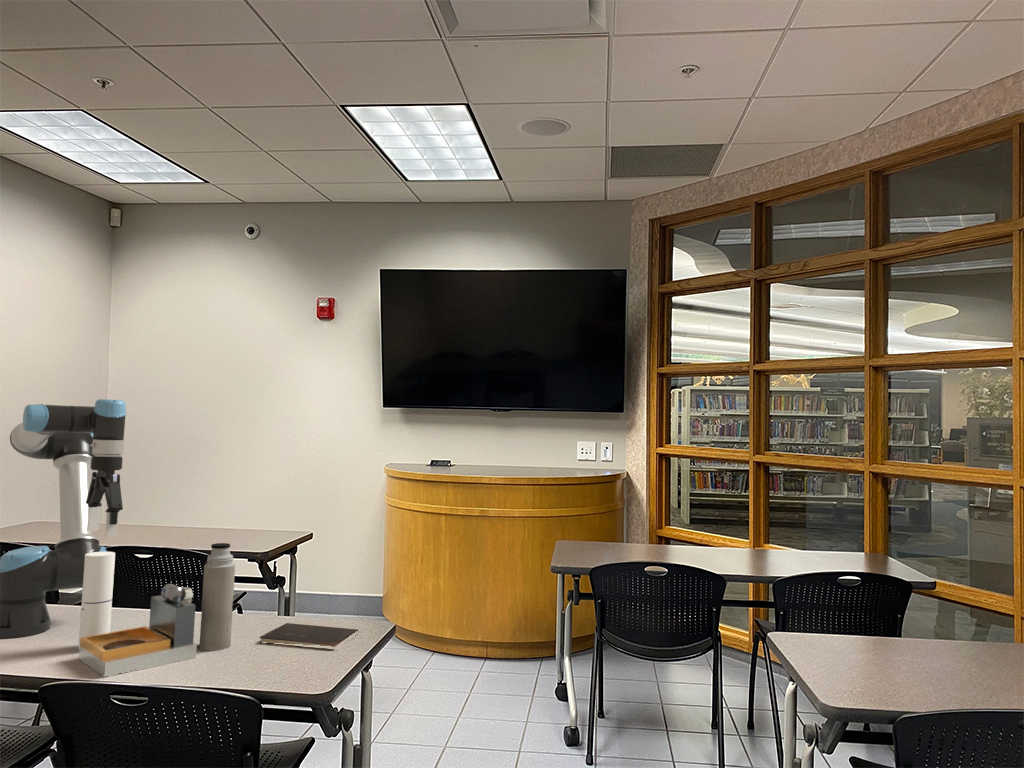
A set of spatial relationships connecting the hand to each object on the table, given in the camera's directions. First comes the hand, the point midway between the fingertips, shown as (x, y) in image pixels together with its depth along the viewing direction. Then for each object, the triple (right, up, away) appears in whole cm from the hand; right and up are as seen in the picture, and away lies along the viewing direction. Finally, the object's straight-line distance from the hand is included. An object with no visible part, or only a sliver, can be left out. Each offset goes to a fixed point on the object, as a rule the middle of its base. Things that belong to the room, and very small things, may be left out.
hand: (101, 533), depth 193 cm
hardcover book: (+53, -34, +12) cm, 64 cm away
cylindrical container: (-1, -31, -2) cm, 31 cm away
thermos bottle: (+30, -32, +3) cm, 44 cm away
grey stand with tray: (+15, -30, -10) cm, 35 cm away
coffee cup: (+13, -32, +15) cm, 38 cm away
